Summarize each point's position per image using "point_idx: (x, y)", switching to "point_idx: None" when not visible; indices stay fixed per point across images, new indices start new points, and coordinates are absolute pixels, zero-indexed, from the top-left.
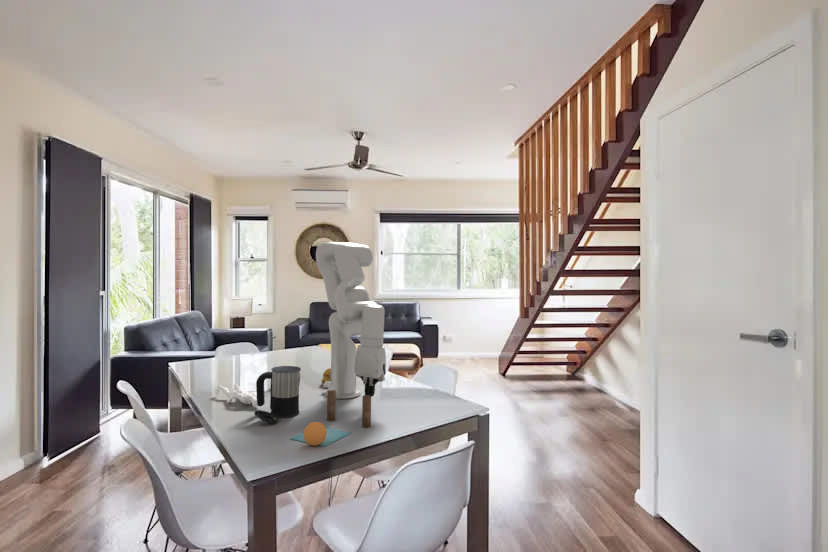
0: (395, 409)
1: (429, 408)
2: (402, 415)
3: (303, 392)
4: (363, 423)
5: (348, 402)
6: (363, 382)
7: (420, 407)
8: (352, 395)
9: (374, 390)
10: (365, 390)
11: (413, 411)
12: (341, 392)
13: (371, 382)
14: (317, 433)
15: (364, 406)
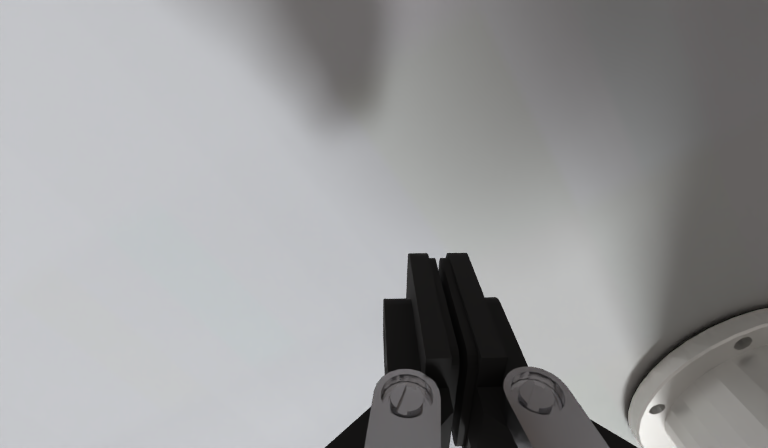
0: (252, 329)
1: (83, 437)
2: (93, 248)
3: None
4: None
5: (651, 291)
6: (569, 396)
7: (146, 426)
8: (665, 378)
9: (384, 365)
10: (478, 299)
11: (111, 354)
12: (763, 365)
13: (397, 429)
14: None
15: None
